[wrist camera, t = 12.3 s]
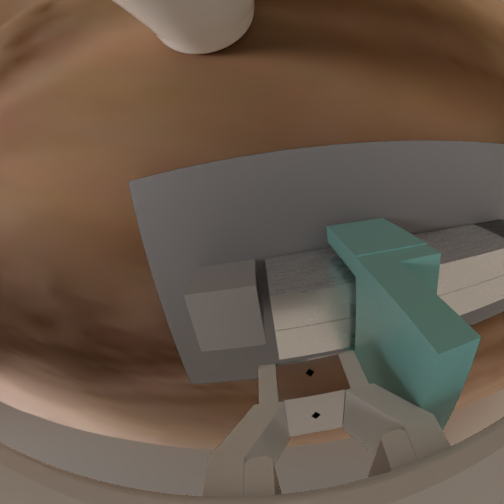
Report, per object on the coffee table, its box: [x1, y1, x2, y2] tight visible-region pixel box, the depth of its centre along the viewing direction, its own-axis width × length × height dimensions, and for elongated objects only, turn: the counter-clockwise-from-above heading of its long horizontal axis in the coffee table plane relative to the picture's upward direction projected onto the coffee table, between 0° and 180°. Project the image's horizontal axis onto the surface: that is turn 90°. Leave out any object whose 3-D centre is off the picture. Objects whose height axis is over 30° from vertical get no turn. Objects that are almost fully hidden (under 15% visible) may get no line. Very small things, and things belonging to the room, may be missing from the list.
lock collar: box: [326, 218, 481, 431], centre depth 10 cm, size 3×6×10 cm, turn 9°
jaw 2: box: [275, 275, 504, 360], centre depth 13 cm, size 16×2×4 cm, turn 99°
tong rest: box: [128, 141, 504, 384], centre depth 14 cm, size 26×13×4 cm, turn 99°
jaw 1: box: [265, 219, 504, 331], centre depth 12 cm, size 16×2×4 cm, turn 99°
